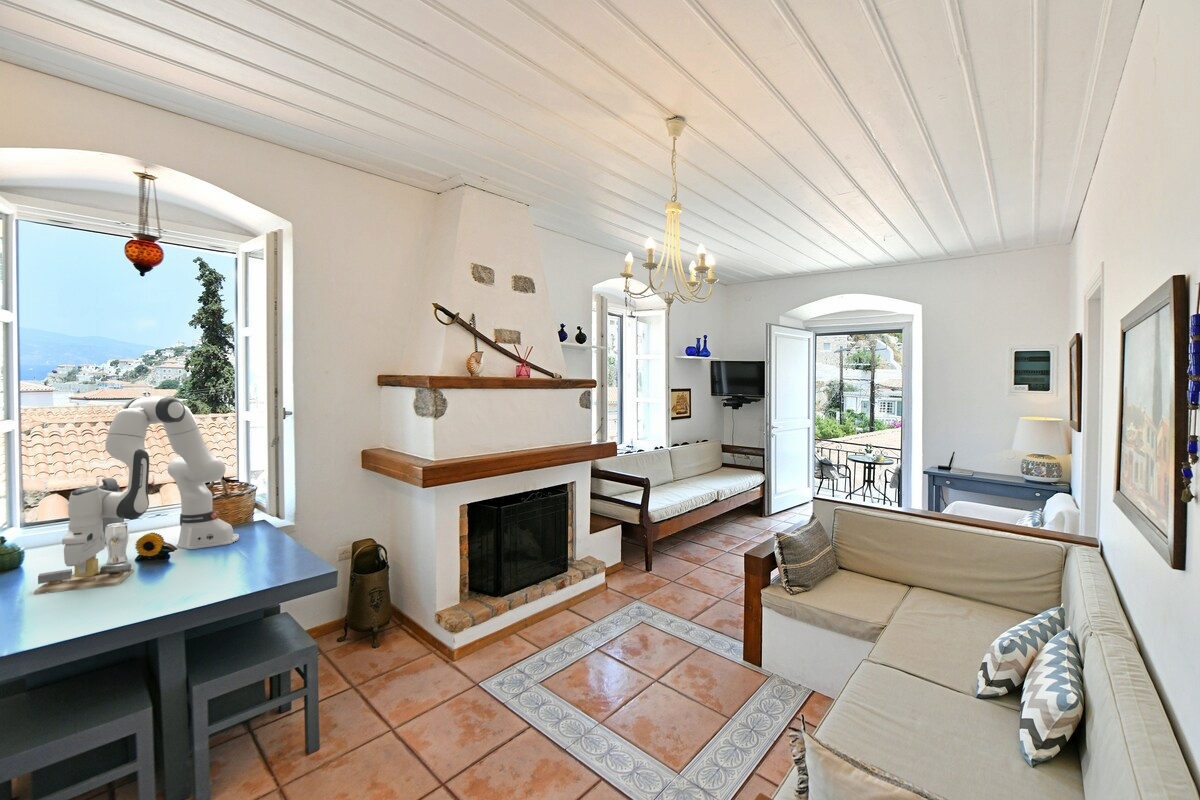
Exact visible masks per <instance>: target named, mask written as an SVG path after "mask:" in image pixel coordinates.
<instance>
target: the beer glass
mask: <svg viewBox="0 0 1200 800" xmlns="http://www.w3.org/2000/svg"><path fill="white" fill-rule="evenodd" d="M129 531H130V530H129V523H127V522H124V523H114V524H110V525H107V526H106V530H105V541H106V544H105V547H106V548H107V549H106V550H107V554H108V555H107V560H106V564H108V565H119V564H124V563H126V562H128V556H127V548H128V542H129V537H130V535H129V534H130V532H129Z"/></svg>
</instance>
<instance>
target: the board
mask: <svg viewBox="0 0 1200 800" xmlns="http://www.w3.org/2000/svg"><path fill="white" fill-rule="evenodd" d="M132 573H134V568H131V571H130V572H124V573H114V574H105V575H101V574H100V571H98V572H97V573H96V574H94V575H93V576H83V577H75V573H74V574H73V573H72V578H71V579H67V580H61V581H54V582H48V583H43V584H42V585H41V586H39V587H37V588H36V589H34V590H33V592H34V593H33V594H34V595H38V593H39V594H46V592H48V593H56V592H65V591H73V590H74V591H75V590H82V589H93V588H94V589H95V588H102V587H103V588H104V587H111V586H119V584H120V583H122V582H123V581H124V580H125V579H126V578H128V577H129V576H130V575H131V574H132Z"/></svg>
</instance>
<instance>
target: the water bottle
mask: <svg viewBox="0 0 1200 800" xmlns="http://www.w3.org/2000/svg"><path fill="white" fill-rule="evenodd" d="M101 482H102V484H101V485H99V486H98V487H99V488H100V489H102V490H106V491H112V492H121V491H120V484H118V481H117V480H116V479H115V478H113V477H112V478H111V477H106V478H103V479H101ZM102 521H103V532H104V536H105V530H106V526H107V525H110V524H114V523H125V519H122V518H108V517H104V518H102ZM105 545H106V541H105Z"/></svg>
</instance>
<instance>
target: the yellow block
mask: <svg viewBox="0 0 1200 800" xmlns="http://www.w3.org/2000/svg"><path fill="white" fill-rule="evenodd" d="M85 565H86V567H87V571H86V572H85V573H79V569H78V567H77V566H74V574H75V577H83V576H93V575H94V574H96V573H97V572H99V558H98V557H96V559H88V560H86V563H85Z"/></svg>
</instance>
